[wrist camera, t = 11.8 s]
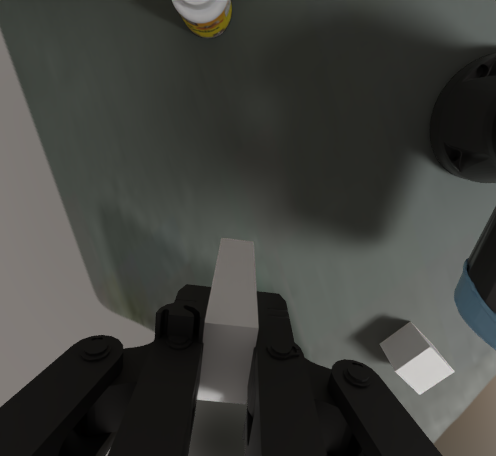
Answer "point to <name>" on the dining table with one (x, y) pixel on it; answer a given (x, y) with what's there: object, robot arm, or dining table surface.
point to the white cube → (415, 358)
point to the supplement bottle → (205, 16)
